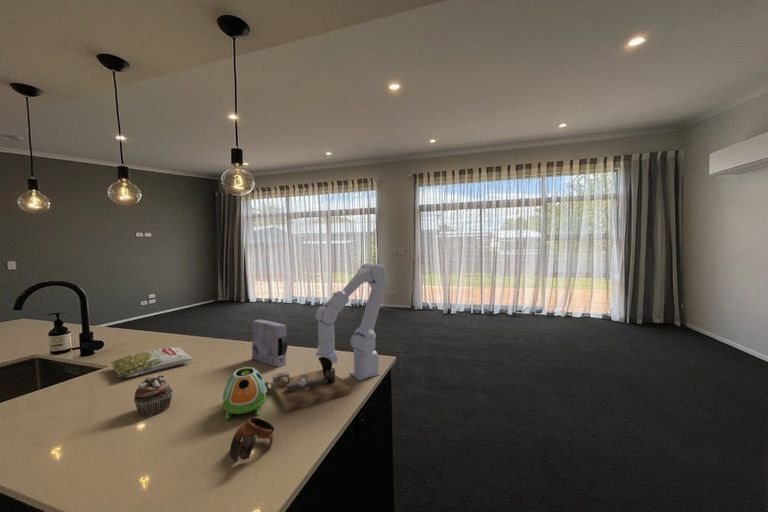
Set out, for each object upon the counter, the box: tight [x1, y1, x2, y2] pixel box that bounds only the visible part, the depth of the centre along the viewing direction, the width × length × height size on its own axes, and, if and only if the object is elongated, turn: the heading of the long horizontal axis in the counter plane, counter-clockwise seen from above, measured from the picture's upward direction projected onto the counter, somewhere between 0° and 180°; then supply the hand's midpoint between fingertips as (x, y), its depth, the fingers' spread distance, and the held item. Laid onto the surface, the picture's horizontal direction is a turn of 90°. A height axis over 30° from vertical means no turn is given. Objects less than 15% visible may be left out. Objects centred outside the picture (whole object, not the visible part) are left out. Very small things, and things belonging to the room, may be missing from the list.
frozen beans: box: [110, 346, 194, 378], centre depth 129 cm, size 21×6×25 cm
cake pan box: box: [251, 318, 288, 368], centre depth 133 cm, size 19×5×18 cm, turn 58°
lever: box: [287, 367, 336, 392], centre depth 105 cm, size 17×4×4 cm, turn 117°
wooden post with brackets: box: [264, 381, 273, 394], centre depth 102 cm, size 2×8×4 cm, turn 123°
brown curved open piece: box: [228, 417, 275, 462], centre depth 74 cm, size 12×10×8 cm
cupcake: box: [133, 375, 174, 418], centre depth 94 cm, size 10×10×10 cm
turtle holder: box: [221, 366, 267, 420], centre depth 96 cm, size 12×18×12 cm
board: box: [270, 369, 352, 414], centre depth 106 cm, size 22×20×5 cm
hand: (327, 376), depth 110 cm, fingers closed, pressing on lever
